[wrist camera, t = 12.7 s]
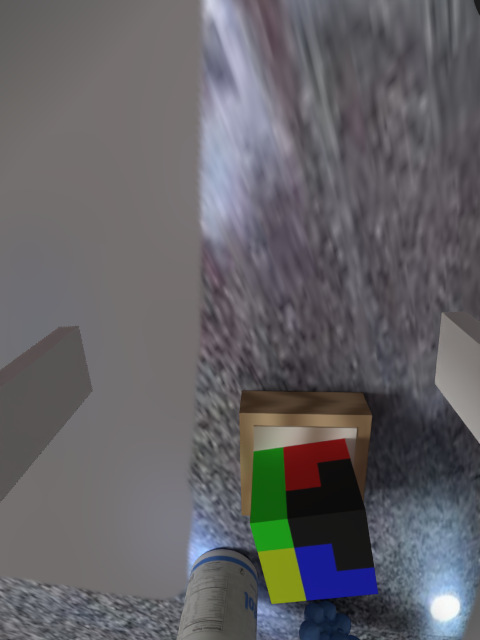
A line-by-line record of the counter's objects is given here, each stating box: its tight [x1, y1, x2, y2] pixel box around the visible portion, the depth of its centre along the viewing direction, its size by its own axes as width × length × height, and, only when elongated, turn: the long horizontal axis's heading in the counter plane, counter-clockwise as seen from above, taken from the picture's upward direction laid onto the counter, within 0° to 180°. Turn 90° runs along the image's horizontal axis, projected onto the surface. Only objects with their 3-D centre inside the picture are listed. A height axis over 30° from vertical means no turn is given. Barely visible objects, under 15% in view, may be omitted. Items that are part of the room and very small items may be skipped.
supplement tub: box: [177, 549, 258, 640], centre depth 52 cm, size 10×10×15 cm
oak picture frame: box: [239, 391, 372, 516], centre depth 49 cm, size 14×14×5 cm
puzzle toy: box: [250, 438, 378, 604], centre depth 42 cm, size 10×10×10 cm
